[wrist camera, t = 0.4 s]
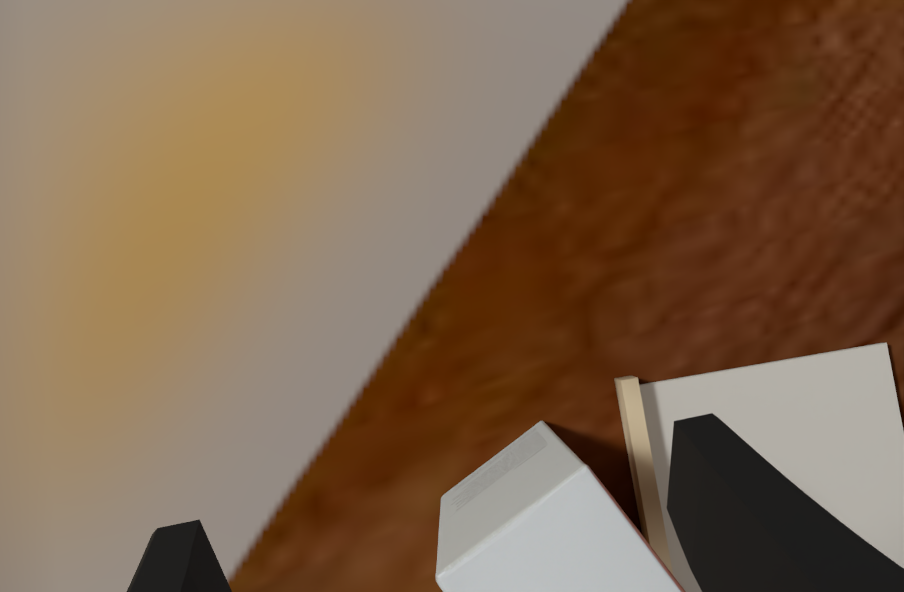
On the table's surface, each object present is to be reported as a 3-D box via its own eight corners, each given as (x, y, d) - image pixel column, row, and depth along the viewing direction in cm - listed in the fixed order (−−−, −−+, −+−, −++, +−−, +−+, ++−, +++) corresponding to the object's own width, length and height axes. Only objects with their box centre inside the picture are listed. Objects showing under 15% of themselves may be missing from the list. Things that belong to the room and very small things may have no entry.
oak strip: (675, 624, 38) (684, 637, 37) (658, 627, 38) (667, 640, 37) (630, 375, 39) (637, 377, 37) (614, 378, 39) (620, 380, 37)
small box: (645, 549, 39) (743, 666, 26) (539, 631, 38) (583, 789, 25) (542, 414, 39) (587, 460, 26) (436, 494, 39) (428, 582, 26)
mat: (933, 612, 38) (938, 615, 38) (685, 655, 38) (687, 659, 38) (882, 342, 39) (886, 343, 38) (636, 385, 39) (638, 385, 38)
